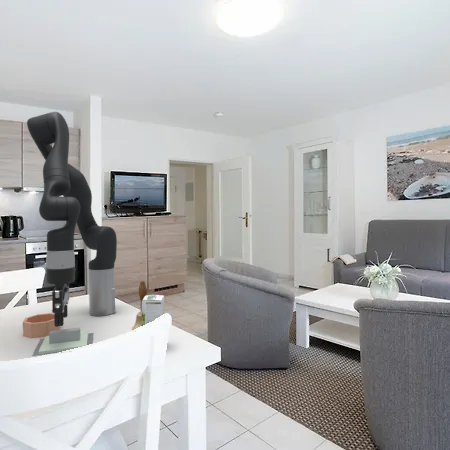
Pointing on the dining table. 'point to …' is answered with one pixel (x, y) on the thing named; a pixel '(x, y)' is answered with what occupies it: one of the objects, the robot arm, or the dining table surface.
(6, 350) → the dining table surface
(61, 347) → the cover sheet
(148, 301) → the syrup box
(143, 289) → the hand bell
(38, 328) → the bowl
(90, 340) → the mat
